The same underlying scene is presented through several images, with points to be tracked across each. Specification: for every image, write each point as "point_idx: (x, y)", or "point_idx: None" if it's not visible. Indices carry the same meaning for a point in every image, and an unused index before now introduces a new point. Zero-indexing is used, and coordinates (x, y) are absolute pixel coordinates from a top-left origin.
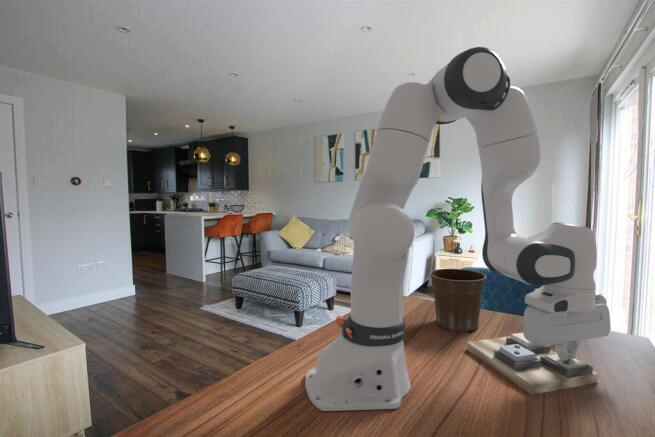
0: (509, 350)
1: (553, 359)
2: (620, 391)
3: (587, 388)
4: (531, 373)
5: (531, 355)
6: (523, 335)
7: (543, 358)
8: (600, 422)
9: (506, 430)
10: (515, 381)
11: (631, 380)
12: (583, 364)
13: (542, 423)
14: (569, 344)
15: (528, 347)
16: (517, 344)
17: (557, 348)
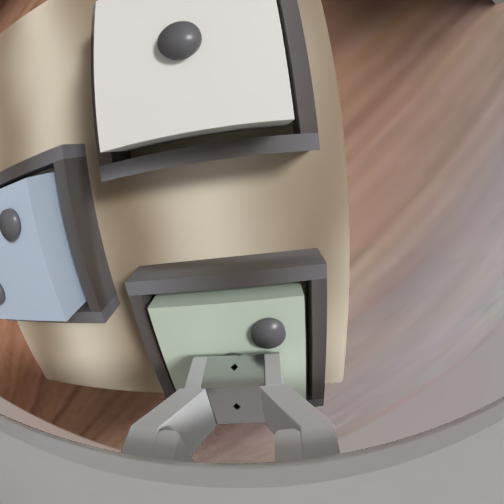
0: None
1: (162, 350)
2: (352, 393)
3: None
4: (61, 334)
5: (50, 317)
6: (168, 13)
7: (132, 302)
8: None
9: (10, 401)
10: None
11: (451, 342)
12: None
13: (57, 417)
14: (282, 419)
15: (126, 150)
16: (23, 186)
17: (171, 401)
